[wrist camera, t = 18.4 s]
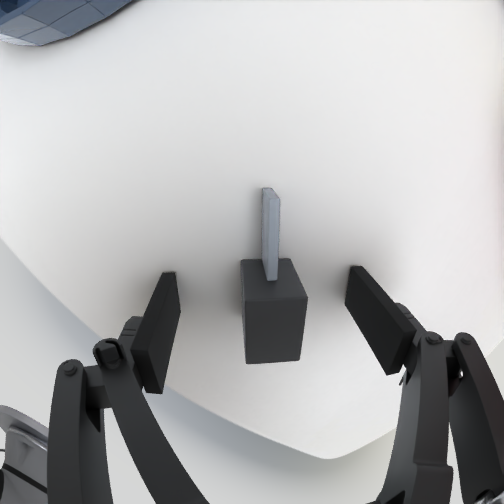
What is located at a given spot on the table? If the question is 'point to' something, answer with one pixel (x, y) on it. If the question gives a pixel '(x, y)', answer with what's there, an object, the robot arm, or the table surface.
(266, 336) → the cube with grey tab
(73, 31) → the bowl
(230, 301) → the table surface
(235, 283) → the table surface
